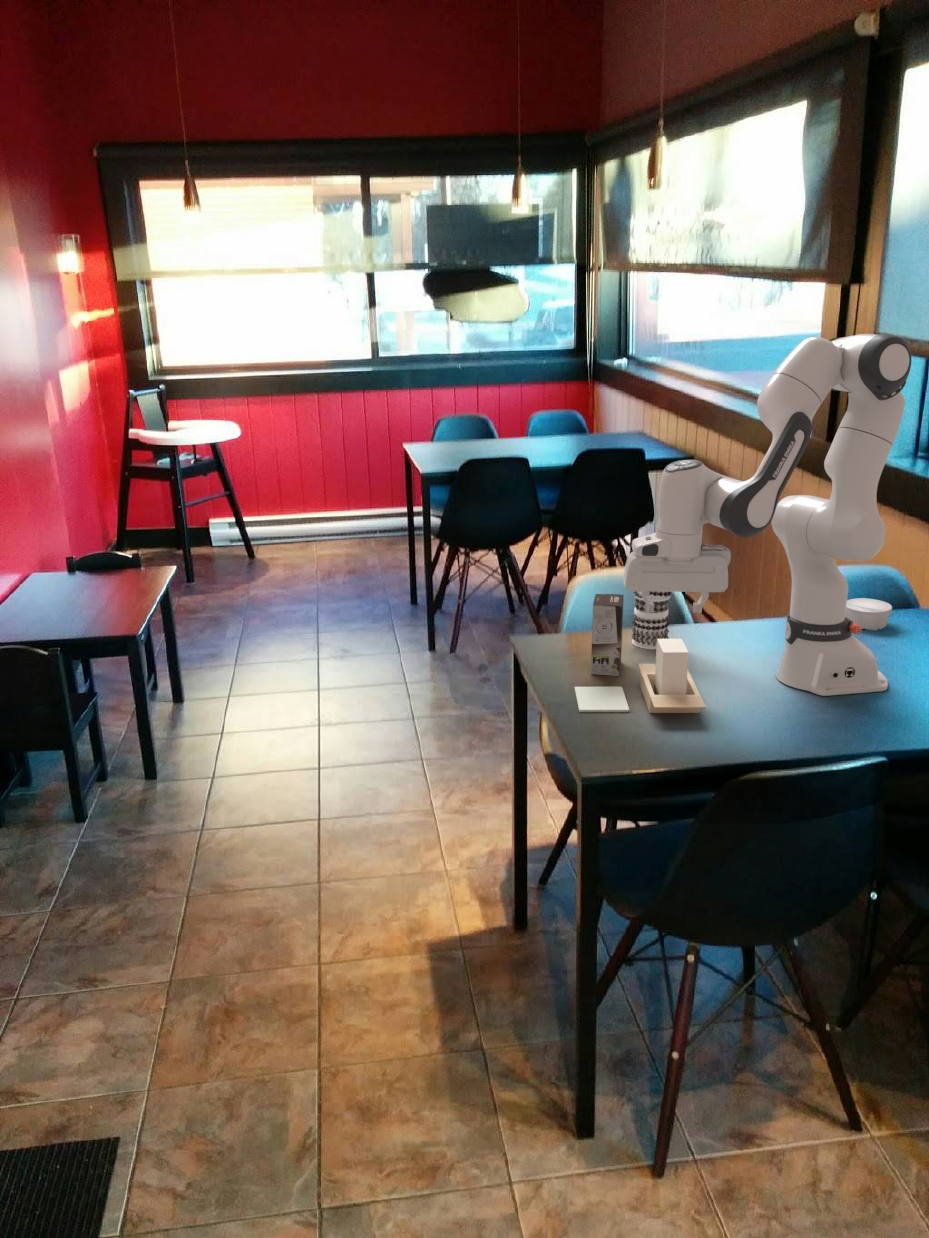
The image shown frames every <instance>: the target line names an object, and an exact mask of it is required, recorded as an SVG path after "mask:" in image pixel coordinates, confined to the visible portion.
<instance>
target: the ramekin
mask: <svg viewBox="0 0 929 1238" xmlns="http://www.w3.org/2000/svg"><path fill="white" fill-rule="evenodd" d="M892 611H893V606H892V605H891V604H890V603H888V602H886V601H883V600H879V599H876V598H875V599H874V598H867V597H860V598H857V597H856V598H851V599H847V604H846V613H845V617H846V618H848V619H850V620H851V621H853V623H857V624H858V625H859V626H860V627H861V628H862V629H866V630H865V631H876V630H875V629H880V630H882V629H881V628H883V629H884V628H886V626H887V625H888V622H889V619H890V616H891V613H892ZM862 629H861V630H862ZM867 629H868V630H867Z"/></svg>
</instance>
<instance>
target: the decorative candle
mask: <svg viewBox="0 0 929 1238" xmlns="http://www.w3.org/2000/svg"><path fill="white" fill-rule="evenodd" d="M671 595H672V592H663V591H649V596H646V597H647V599H648V601H649V602H653V604H654V612H649V613H648V612H646V611H645V606H646V603H645V601H644V599H643V597H642V595H641V591H633V597H634V598H635V606H634V610H633V612H634V613H633V615H632V618H633V619H632V624H633V626H632V628H631V631H632V634H631V638H632V640H631V643H632V645H633V644H634V645H635V647H636V648H639V647H640V649H643V648H644V650H656V648H657V639H670V638H669V635H668V634H669V632H670V629H669V626H670V623H669V620H670V617H671V616H669V606H668V605H669V599H670V598H671ZM634 645H633V646H634ZM637 646H638V647H637Z"/></svg>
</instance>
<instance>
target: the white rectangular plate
mask: <svg viewBox="0 0 929 1238" xmlns="http://www.w3.org/2000/svg"><path fill="white" fill-rule="evenodd" d="M573 688H574V693H575V697H576V703H577V707H578V708H577V709H578V713H629V712H630V707H629V704H628V702H627V698H626V694H625V691H624V689H623V687H622V686H574V687H573Z"/></svg>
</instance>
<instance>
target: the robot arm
mask: <svg viewBox="0 0 929 1238" xmlns="http://www.w3.org/2000/svg"><path fill="white" fill-rule="evenodd" d="M911 367H912V351H911V348H910V345H909V344H908V343H907V341H906V340H904V339H903V338H902V337H900V336H897V335H893V334H889V333H879V334H876V333H875V334H874V333H859V334H855V335H849V336H844V337H843V336H842V337H841V336H837V337H833V338H830V339H827V338H824V337H821V336H810V337H807V338H804V339H803V340H801V341H800V342H799V343H798V344H797V345H796V346H795V347H794V348H793V349H792V350H791V351H790V352H789V353H788V355H787V356H785V358H784V359H782V360H781V362H780V364H779V365H778V366H777V367H776V368H775V370H774V372H773V373H772V375H771V376H770V377H769V379H768V380H767V382H766V383H765V384H764V386H763V388H762V389H761V391H760V393H759V395H758V398H757V402H756V408H757V413H758V416H759V418H760V420H761V422H762V423H763V425H764V426H765V427H766V428H767V429H768V430H769V432H771V434H772V441H771V443H770V446H769V447H768V450H767V452H766V453H765V455H764V457H763V459H762V461H761V462H760V464H759V465H758V468H757V470H756V471H755V473H754V475H753V476H752V477H750V478H748V479H747V480H744V481H743V480H740V479H735V478H733V477H730V476H726V475H724V474H721V473H718V472H716V471H714V470H712V469H711V468H709V467H707V466H706V465H705V464H704V463H703V462H702V461H701V460H697V459H681V460H676V461H673V462H670V463H669V464H667V465H666V466H664V467H665V468H664V469H663V471H662V473H661V476H660V481H659V486H658V487H659V488H658V494H657V495H658V496H657V510H658V522H656V523H657V524H656V527H655V528H656V529H655V532H653V533H650V534H647V535H644V536H640V537H636V538H634V539H632V541H631V548H632V551H631V552H630V553H629V554H628V556H627V558H626V562H625V565H624V572H623V586H624V588H625V589H626V590H627V591H628V592H634V591H641V595H642V597H643V599H644V601H645V603H646V606H645V611H646V612H648V613H649V612H654V604H653V602H649V601H648V599H647V597H646V596H649V591H663V592H671V593H672V592H673V593H674V592H677V593H679V592H680V593H682V592H684V593H689V592H690V593H699V594H700V597H699V599H698V600H697V602H694V601H693V603H692V606H693V607H692V612H693V613H694V614H702V612H703V606H704V604H705V603H706V602H707V601H708V599H709V596H710V593H725V591H726V590H727V589H728V587H729V569H728V566H729V565H730V563H731V560H732V559H731V558H732V553H731V551H730V549H729V548H728V547H726V546H725V545H723V544H715V545H713V544H702V540H703V539H702V538H703V526H704V525H706V524H711V525H713V526H715V527H718V528H721V529H724V530H726V531H728V532H730V533H731V534H734V535H736V536H738V537H739V538H753V537H755V536H757V535H760V534H761V533H762V532H764V530H766V528H768V526H770V523H771V527H772V531H773V533H774V534H775V535H776V537H777V538H778V540H779V541H780V542H781V545H782V546H783V549H784V551H785V555H786V557H787V561H788V566H789V570H790V574H791V575H790V576H791V592H790V593H791V595H790V608H789V609H790V610H789V612H788V613H787V617H786V622H785V628H784V629H785V631H784V636H785V637H784V639H785V644H784V648H783V653H782V656H781V660H780V663H779V666H778V669H777V671H776V672H775V677H776V678H777V680H778V682H779V681H780V683H783V684H784V685H785V686H789V687H792V688H794V689H798V690H802V691H807V692H811V693H813V694H816V695H819V696H822V697H826V696H838V695H840V696H841V695H850V694H865V693H877V692H884V691H885V692H886V691H887V689H888V687H889V682H888V679H887V677H886V676H885V675H884V674H883V673H882V672H881V671H880V670H878V669H879V668H878V663H877V662H878V661H877V659H876V655H874V653H873V651H872V650H871V649H869V648H868V647H867V646H866V645H865V644H864V643H863V642H861V641H860V639H857V637H855V636H854V635H860V633H862V628H861V627H860V626H859V625H858V624H857V623H853V621H851V620H850V619H848V618H846V617H845V613H846V604H847V600H848V594H849V584H848V581H847V578H846V577H845V575H844V574H843V573H842V572H841V570H840V569H839V567H838V566H837V563H836V560H835V559H838V560H841V561H848V562H849V561H850V562H866V561H869V560H871V559H874V557H876V556H877V555H878V553H880V551H881V550H882V548H883V546H884V544H885V541H886V536H887V535H886V534H887V531H886V529H887V528H886V525H885V522H884V520H883V518H882V516H881V515H880V513H879V508H878V504H877V496H878V495H877V492H878V486H879V482H880V478H881V475H882V473H883V470H884V467H885V465H886V462H887V460H888V457H889V455H890V453H891V450H892V449H893V447H894V444H895V441H896V439H897V435H898V432H899V430H900V426H901V422H902V420H903V416H904V411H905V405H906V401H905V400H906V399H905V396H904V394H903V393H902V390H903V389H904V387H905V386H906V384H907V380H908V377H909V375H910V372H911ZM830 391H834V392H839V391H841V392H848V395H847V396H848V403H847V404H848V405H847V408H846V409H847V410H846V411H845V414H844V415H843V417H842V419H841V421H840V424H839V426H838V427H837V431H836V432H835V435H834V438H833V440H832V442H831V444H830V447H829V449H828V452H827V454H826V456H825V459H824V462H823V467H824V470H825V473H826V475H827V476H828V477H829V478H830V479H831V484H832V486H831V493H830V497H829V499H828V498H823V497H820V496H815V495H811V494H798V495H797V494H796V495H794V494H793V495H788V496H785V497H783V498H782V499H780V498H781V496H782V493H783V491H784V489H785V487H786V486H787V484H788V482H789V480H790V478H791V477H792V475H793V473H794V472H795V469H796V468H797V466H798V464H799V461H800V460H801V458H802V457H803V454H804V452H805V451H806V448H807V447H808V444H809V442H810V439H811V436H812V432H813V419H814V417H815V414H816V413H817V411H818V410H819V408H820V406H821V405H822V403H823V401H824V400H825V399H826V398H827V396H828V394H829V393H830ZM779 500H780V501H779ZM853 634H854V635H853Z"/></svg>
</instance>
